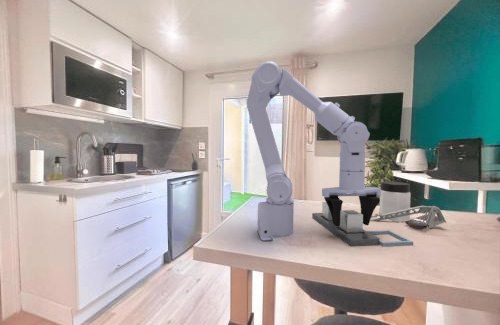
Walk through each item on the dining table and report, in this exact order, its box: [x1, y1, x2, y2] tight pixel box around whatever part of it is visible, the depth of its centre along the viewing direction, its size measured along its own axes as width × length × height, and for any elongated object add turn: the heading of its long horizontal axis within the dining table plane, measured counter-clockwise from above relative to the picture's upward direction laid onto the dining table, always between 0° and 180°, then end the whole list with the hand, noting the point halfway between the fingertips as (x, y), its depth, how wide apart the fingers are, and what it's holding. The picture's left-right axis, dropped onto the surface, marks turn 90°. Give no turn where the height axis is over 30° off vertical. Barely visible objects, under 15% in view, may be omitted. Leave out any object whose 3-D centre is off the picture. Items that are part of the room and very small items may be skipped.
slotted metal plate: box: [311, 212, 381, 248], centre depth 61 cm, size 7×22×2 cm, turn 6°
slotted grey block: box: [321, 201, 343, 221], centre depth 66 cm, size 4×4×6 cm
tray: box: [366, 229, 414, 247], centre depth 54 cm, size 8×8×2 cm
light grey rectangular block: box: [339, 209, 364, 234], centre depth 56 cm, size 4×4×6 cm
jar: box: [378, 181, 412, 223], centre depth 74 cm, size 9×8×12 cm
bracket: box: [370, 205, 447, 229], centre depth 67 cm, size 3×21×10 cm, turn 78°
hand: (350, 224), depth 56 cm, fingers open, 7 cm apart
